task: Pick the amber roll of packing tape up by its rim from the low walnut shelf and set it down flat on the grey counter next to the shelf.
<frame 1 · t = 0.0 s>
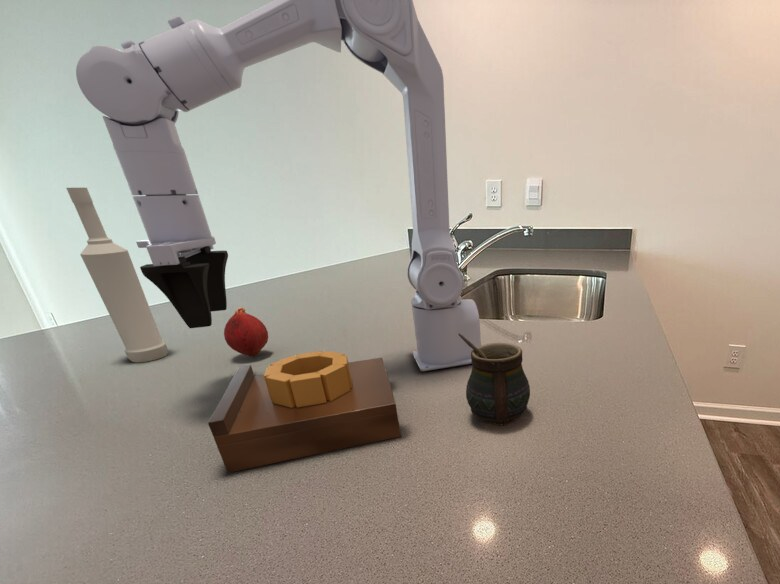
hand: (209, 318, 50), 10 cm above the countertop, tool pointing down, fingers open, 7 cm apart
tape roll: (313, 389, 45), point 4 cm above the countertop, touching shelf
shelf: (321, 420, 47), on the countertop
red pomegranate: (253, 357, 66), on the countertop
mate gourd: (498, 417, 47), on the countertop
bottle: (150, 358, 67), on the countertop
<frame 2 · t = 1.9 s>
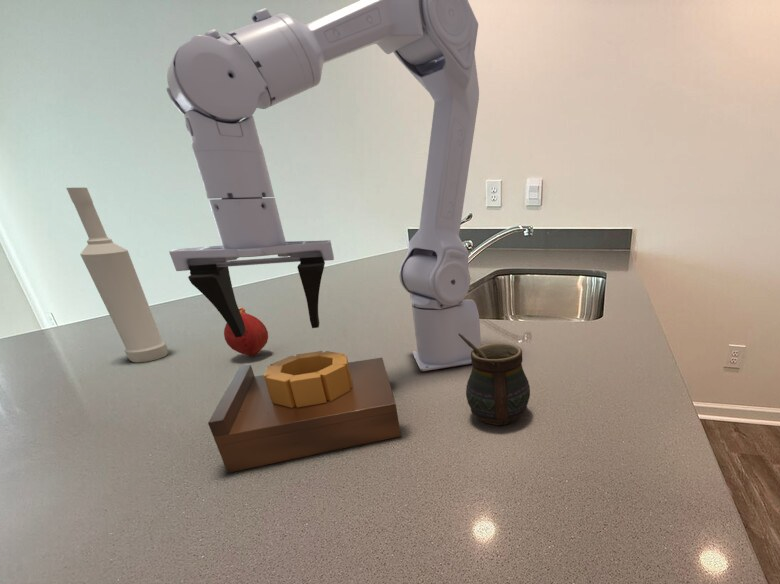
hand: (279, 330, 46), 10 cm above the countertop, tool pointing down, fingers open, 7 cm apart
nothing on the countertop moved.
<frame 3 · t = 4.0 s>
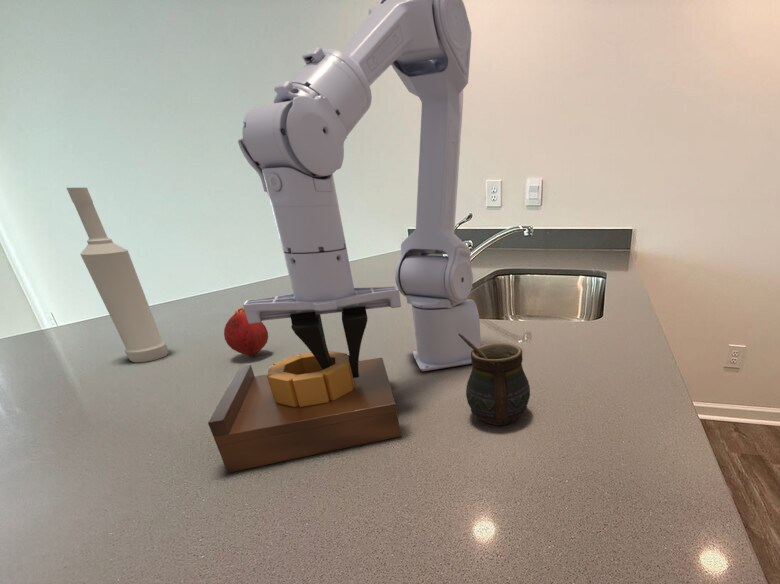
hand: (343, 376, 46), 5 cm above the countertop, tool pointing down, fingers closed on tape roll, 2 cm apart
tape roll: (316, 389, 45), point 4 cm above the countertop, touching gripper, shelf
everything else where it was.
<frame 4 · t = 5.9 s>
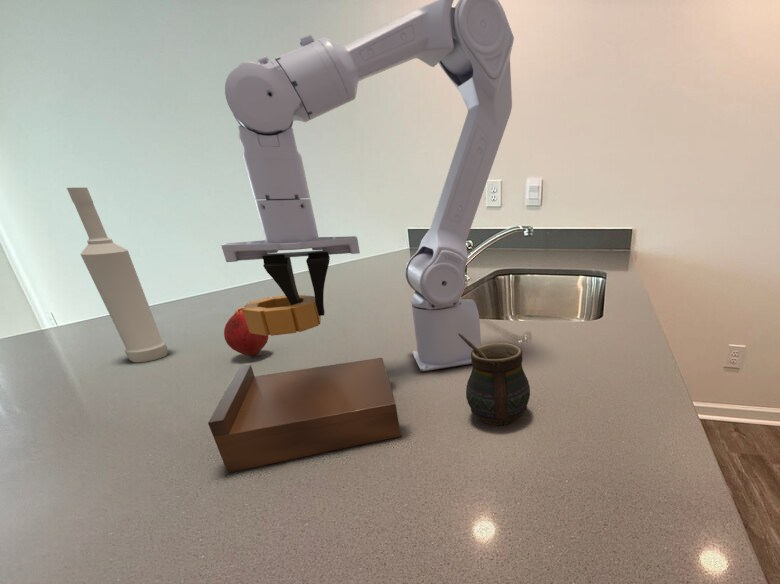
hand: (310, 315, 53), 9 cm above the countertop, tool pointing down, fingers closed on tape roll
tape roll: (286, 325, 52), point 8 cm above the countertop, touching gripper
everything else where it was.
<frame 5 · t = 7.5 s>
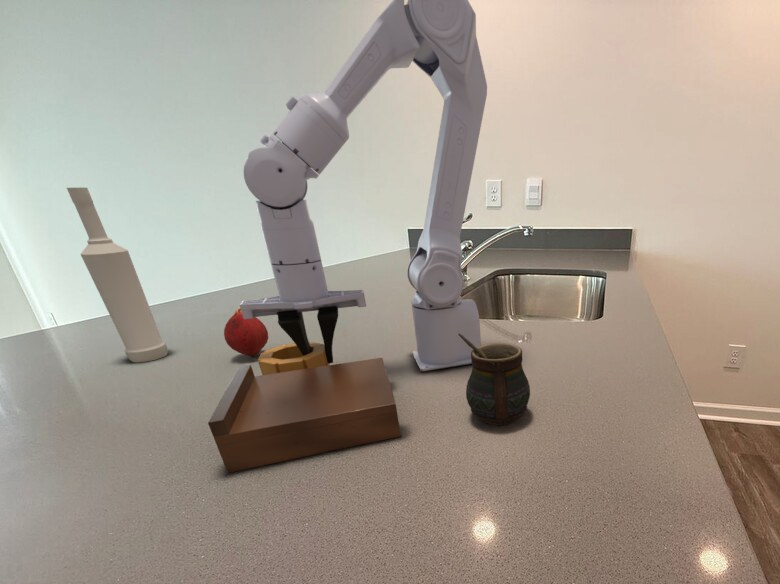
hand: (320, 362, 57), 2 cm above the countertop, tool pointing down, fingers closed on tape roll, 2 cm apart
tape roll: (298, 372, 56), point 1 cm above the countertop, touching gripper
everything else where it was.
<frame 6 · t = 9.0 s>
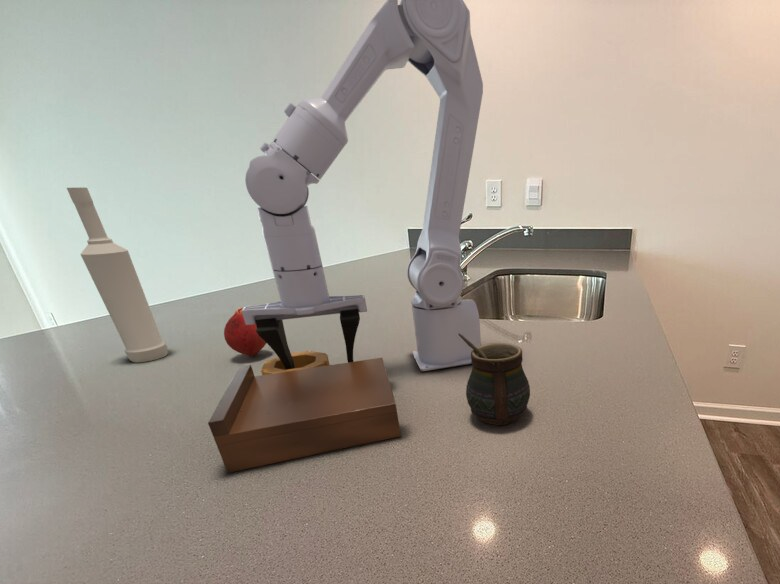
hand: (321, 367, 57), 2 cm above the countertop, tool pointing down, fingers open, 7 cm apart
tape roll: (300, 381, 57), on the countertop
everything else where it was.
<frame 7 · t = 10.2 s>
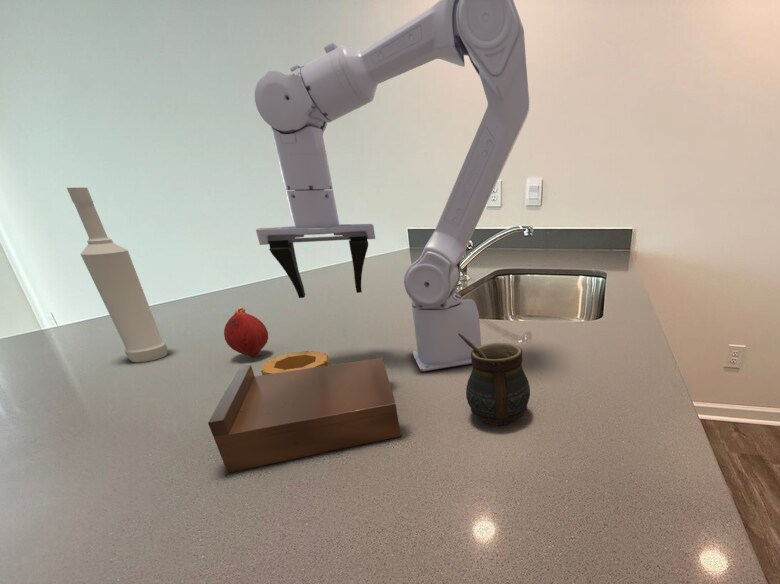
hand: (331, 293, 59), 10 cm above the countertop, tool pointing down, fingers open, 7 cm apart
nothing on the countertop moved.
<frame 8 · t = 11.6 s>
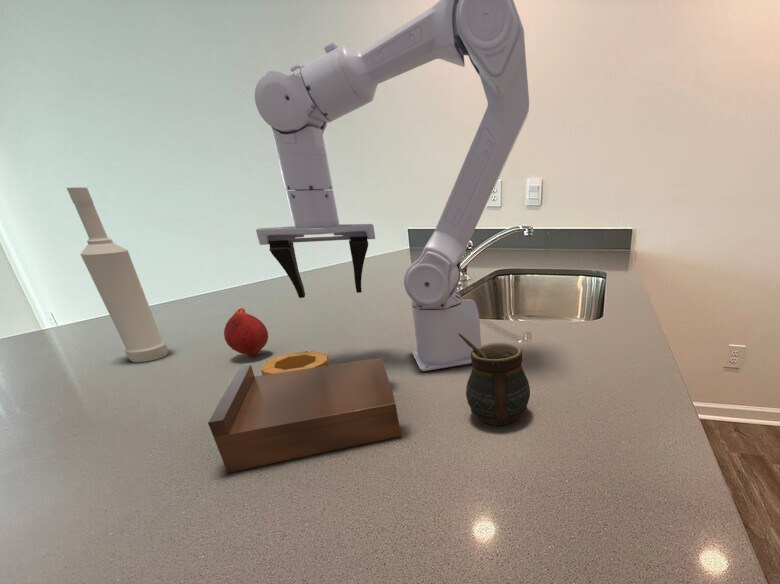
hand: (331, 293, 59), 10 cm above the countertop, tool pointing down, fingers open, 7 cm apart
nothing on the countertop moved.
at the end: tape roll inside the target area (0.1 cm from its centre), on the countertop; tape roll tilted 0°; the gripper is holding nothing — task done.
